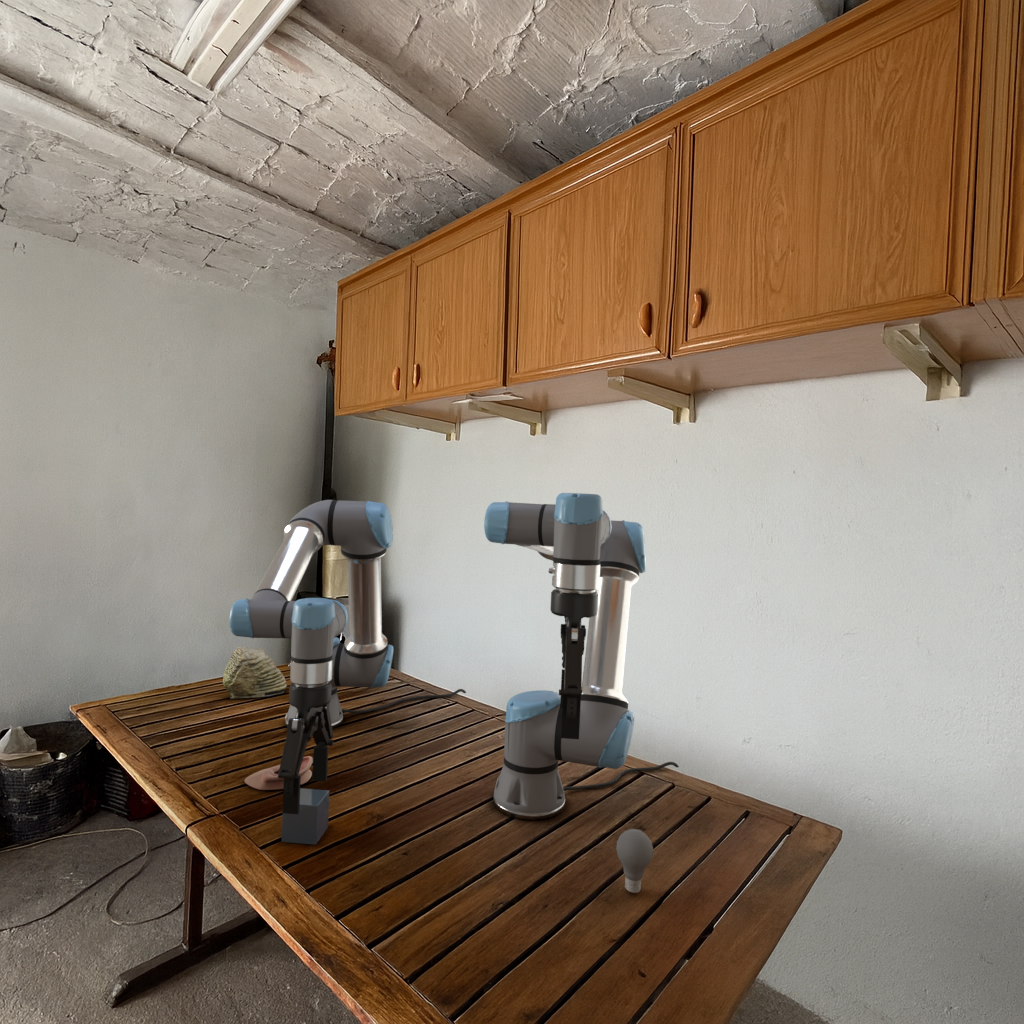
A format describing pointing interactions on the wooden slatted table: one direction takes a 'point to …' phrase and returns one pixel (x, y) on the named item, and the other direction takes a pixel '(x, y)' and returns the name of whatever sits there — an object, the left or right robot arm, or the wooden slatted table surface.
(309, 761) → the anatomical model
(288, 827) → the block
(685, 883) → the wooden slatted table surface
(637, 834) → the light bulb
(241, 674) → the fossil
